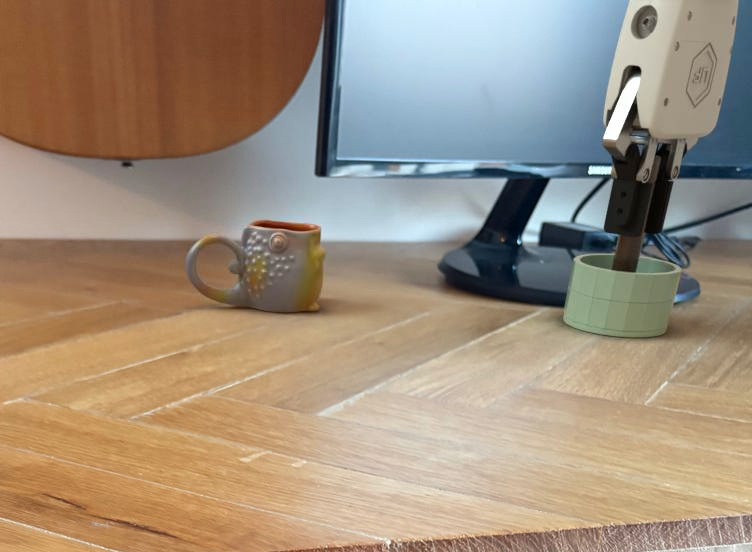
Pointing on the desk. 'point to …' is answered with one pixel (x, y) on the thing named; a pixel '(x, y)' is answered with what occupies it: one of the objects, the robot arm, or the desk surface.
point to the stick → (631, 246)
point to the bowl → (621, 296)
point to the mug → (268, 267)
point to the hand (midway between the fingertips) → (632, 231)
